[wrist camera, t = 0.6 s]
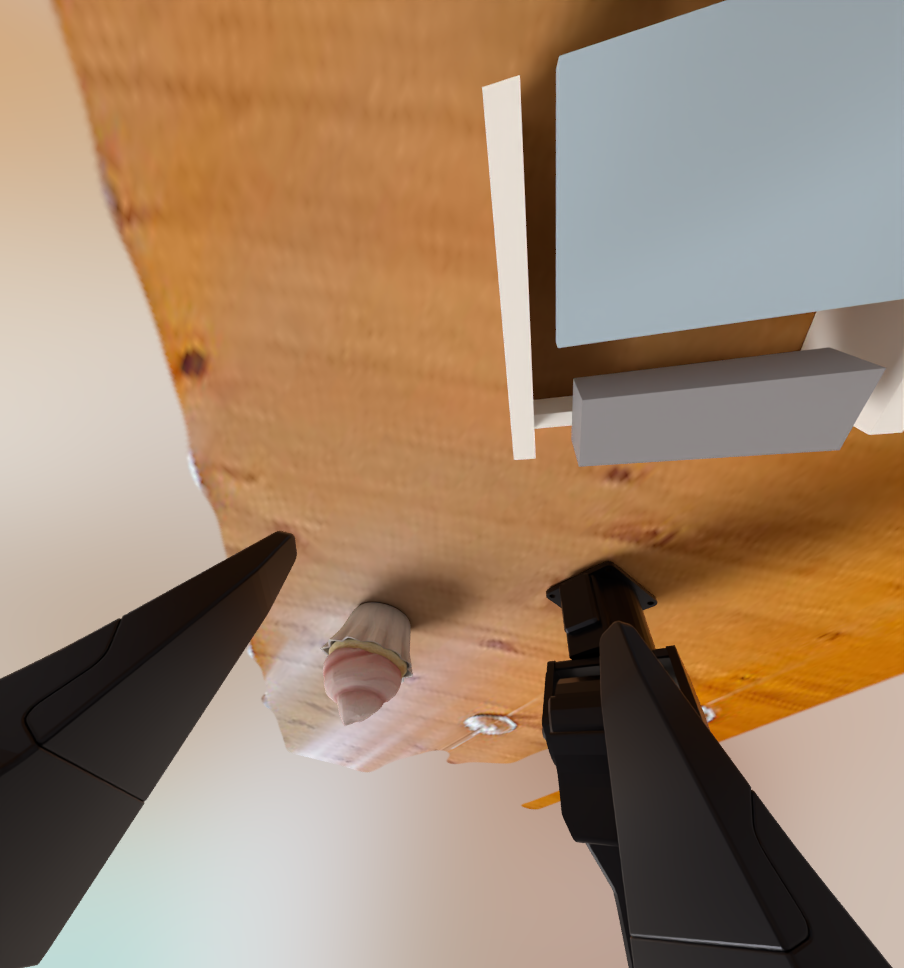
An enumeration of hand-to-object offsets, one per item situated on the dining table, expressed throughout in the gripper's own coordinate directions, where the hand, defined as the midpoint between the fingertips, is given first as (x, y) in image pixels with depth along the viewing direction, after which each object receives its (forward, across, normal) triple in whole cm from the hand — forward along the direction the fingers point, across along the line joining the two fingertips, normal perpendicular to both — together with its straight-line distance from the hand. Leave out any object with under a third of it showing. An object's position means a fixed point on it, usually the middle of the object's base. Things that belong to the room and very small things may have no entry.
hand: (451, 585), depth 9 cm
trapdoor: (+9, -6, -8) cm, 14 cm away
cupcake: (+14, +5, +27) cm, 31 cm away
